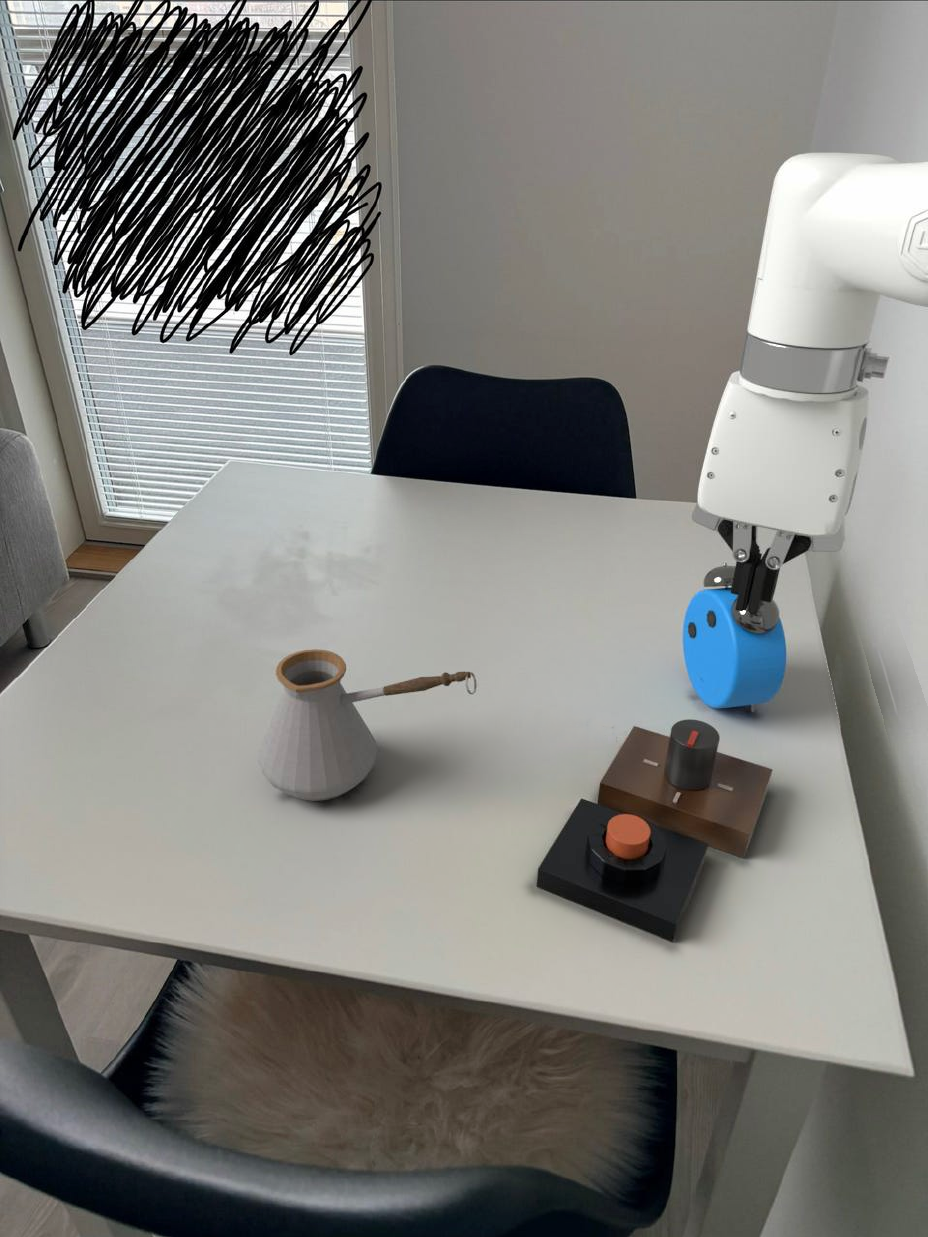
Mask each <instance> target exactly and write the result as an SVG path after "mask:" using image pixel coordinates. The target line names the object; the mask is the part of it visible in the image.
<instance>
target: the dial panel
mask: <svg viewBox="0 0 928 1237" xmlns="http://www.w3.org/2000/svg"><path fill="white" fill-rule="evenodd" d="M669 739H670V736H668V735H665V734H661V733H658V732H655V731H652V730H649V729H646V728H644V727H643V728H642V727H639V726H636V725H633V727H632V728H631V730H630V732H629V733H628V735H627V736H626V738H625V740H624V741H623V743H622V744H621V747H620V748H619V750H618V752H617V753H616V755H615V756H614V758H613V759H612V761H611V763H610V765H609V767H608V769H607V770H606V771H605V773H604V775H603V777H602V778H601V780H600V782H599V786H598V788H599V789H598V796H597V802H596V804H599V805H602V806H605V807H607V808H610V809H613V810H616V811H619V812H621V813H624V814H631V815H634V816H637V817H640V818H643V819H645V820H648V821H650V822H651V823H652V824H655V825H658V826H661V827H663V828H666V829H669V830H672V831H675V832H677V833H680V834H683V835H686V836H689V837H691V838H694V839H697V840H700V841H703V842H705V843H708V844H709V845H708V847H711V848H713V849H716V850H719V851H722V852H724V853H728V854H729V855H733V856H736V857H739V858H741V859H745V857H746V854H747V852H748V849H749V846H750V844H751V843H750V842H751V839H752V837H753V834H754V831H755V828H756V826H757V822H758V819H759V816H760V814H761V811H762V808H763V805H764V802H765V801H766V800H765V799H766V796H767V794H768V790H769V786H770V782H771V778H772V774H773V768H770V767H766V766H764V765H760V764H757V763H754V762H751V761H747V760H744V759H741V758H738V757H735V756H731V755H729V754H725V753H723V752H720V751H717V754H716V759H715V764H714V769H713V774H712V778H711V782H710V784H709V785H708V786H707V787H705V788H703V789H701V790H685V789H681V788H679V787H676V786H675V785H673V784H671V783H670V782H669V781H668V780H667V778H666V777H665V774H664V768H665V763H666V757H667V751H668V745H669Z"/></svg>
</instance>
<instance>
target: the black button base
mask: <svg viewBox="0 0 928 1237" xmlns="http://www.w3.org/2000/svg"><path fill="white" fill-rule="evenodd" d="M621 814H624V813H621V812H619V811H616V810H613V809H610V808H607V807H605V806H602V805H599V804H597V802H596V803H595V802H593V801H590V800H587V799H584V798H583V797H582V798H580V800H579V802H578V803H577V804H576V806H575V808H574V809H573V810H572V812H571V813H570V816H569V817H568V818H567V820H566V822H565V824H564V826H563V827H562V829H561V830H560V832H559V834H558V835H557V837H556V839H555V840H554V842H553V843H552V845H551V847H550V848H549V850H548V851H547V853H546V855H545V856H544V858H543V860H542V862H541V863H540V865H539V866H538V868H537V875H536V888H539V889H541V890H542V891H543V890H544V891H546V892H548V893H551V894H553V895H555V896H558V897H561V898H563V899H565V900H567V901H571V902H573V903H575V904H577V905H580V906H583V907H584V908H587V909H590V910H592V911H594V912H597V913H599V914H602V915H604V916H608V917H610V918H612V919H614V920H617V921H620V922H622V923H624V924H627V925H628V926H629V925H630V926H632V927H634V928H636V929H639V930H640V931H641V930H642V931H644V932H645V933H649V934H651V935H654V936H656V937H657V938H661V939H663V940H666V941H667V942H671V943H673V942H674V940H675V939H676V938H675V937H676V935H677V933H678V930H679V927H680V925H681V923H682V920H683V918H684V915H685V912H686V910H687V908H688V905H689V902H690V900H691V897H692V894H693V892H694V889H695V887H696V884H697V882H698V880H699V877H700V875H701V873H702V870H703V867H704V865H705V862H706V858H707V854H708V849H709V846H708V845H709V844H708V843H705V842H703V841H700V840H697V839H694V838H691V837H689V836H686V835H683V834H680V833H677V832H675V831H672V830H669V829H666V828H663V827H661V826H658V825H655V824H652V823H651V822H650V821H648V820H645V819H643V818H641V819H643V820H644V821H645V822H646V823H647V824H648V826H649V828H650V831H651V833H650V839H649V845H648V850H647V852H646V853H645V855H643V856H642V857H640V858H637V859H624V858H622V857H619V856H616V855H614V854H613V853H612V852H610V850H609V849H608V848H607V846H606V834H607V826H608V823H609V821H610V820H611V819H612V818H613V817H615V816H617V815H621ZM630 815H631V814H630ZM639 818H640V817H639Z"/></svg>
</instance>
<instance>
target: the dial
mask: <svg viewBox="0 0 928 1237" xmlns="http://www.w3.org/2000/svg"><path fill="white" fill-rule="evenodd" d="M669 737H670V739H669V745H668V751H667V757H666V763H665V768H664V774H665V777H666V778H667V780H668V781H669V782H670V783H671V784H673V785H675V786H676V787H679V788H681V789H685V790H701V789H703V788H705V787H707V786H708V785H709V784H710V782H711V778H712V774H713V769H714V764H715V759H716V754H717V752H718V749H719V745H720V738H721V737H720V733H719V731H718V730H717V728H715V727H714V726H713V725H711V724H710V723H708V722H705V721H703V720H702V721H701V720H699V719H692V718H691V719H688V718H687V719H682V720H679V721H676V722H675V723H674V724H673V725H672V726H671V729H670V735H669Z"/></svg>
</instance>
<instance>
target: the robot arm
mask: <svg viewBox="0 0 928 1237" xmlns="http://www.w3.org/2000/svg"><path fill="white" fill-rule="evenodd" d="M769 198H770V199H769V204H768V210H767V215H766V221H765V227H764V232H763V236H762V242H761V243H762V244H761V249H760V255H759V261H758V266H757V271H756V278H755V283H754V289H753V295H752V300H751V305H750V312H749V317H748V322H747V331H746V334H745V340H744V347H743V353H742V358H741V363H740V369H739V370H738V371H737V370H736V371H734V372H732V373H731V374H730V376H729V378H728V380H727V383H726V386H725V388H724V390H723V393H722V396H721V399H720V402H719V405H718V408H717V411H716V413H715V418H714V421H713V424H712V428H711V432H710V436H709V439H708V444H707V447H706V451H705V455H704V460H703V464H702V468H701V472H700V477H699V481H698V488H697V503H696V505H695V507H694V509H693V511H692V513H691V519H692V520H693V522H695V523H696V524H698V525H701V526H702V527H705V528H707V529H709V530H711V531H716V532H717V533H718V534H719V535H720V537H721V538H722V539H723V541H724V542H725V543H726V545H727V546H728V548H729V549H730V551H732V557H733V560H734V561H736V563H735V566H736V567H735V572H734V577H733V582H732V586H730V587H731V593H732V594H736V595H738V598H737V603H736V608H735V610H737V611H741V612H742V611H743V610H746V609H747V607H748V610H747V611H749V612H750V614H753V615H757V613H758V611H759V609H760V607H761V605H762V603H763V601H765V602H769V603H771V601H772V599H773V600H774V595H775V593H776V588H777V584H778V581H779V580H778V579H779V574H780V570H781V567H782V566H783V565H785V564H786V563H788V562H791V561H792V560H793V559H796V558H797V557H799V556H801V555H803V554H804V553H806V552H813V553H837V552H839V551H841V550H842V549H843V546H844V543H845V539H846V536H845V533H846V532H845V531H846V530H845V517H846V515H847V514H848V513H849V509H850V507H851V503H852V500H853V496H854V492H855V486H856V483H857V479H858V474H859V469H860V464H861V459H862V454H863V448H864V443H865V438H866V431H867V426H868V423H867V422H868V412H869V390H868V389H867V388H865V387H864V386H862V385H858V384H859V383H863V382H864V380H865V379H870V380H871V379H872V378H878V379H884V378H885V375H886V372H887V368H888V364H889V361H890V356H883V355H878V353H877V352H872V350H873V348H872V347H871V348H870V347H869V345H870V337H871V333H872V330H873V326H874V321H875V317H876V313H877V310H878V305H879V302H880V297H881V296H885V297H887V298H890V299H893V300H897V301H899V302H903V303H906V304H911V305H915V306H919V307H925V308H928V161H919V162H906V163H905V162H904V163H901V162H900V161H899V160H897V159H895V158H893V157H890V156H886V155H880V154H874V153H873V154H872V153H871V154H870V153H855V152H805V153H799V154H796V155H793V156H791V157H789V158H788V159H786V160H785V161H784V162H783V163H782V165H780V166H779V169H778V171H776V174H775V176H774V179H773V184H772V188H771V193H770V197H769ZM759 528H762V529H767V530H772V531H776V532H775V535H774V537H773V540H772V543H771V545H770V546H769V547H768V548H766V550H765V552H764V553H761V549H760V546H759V544H758V536H759V535H758V533H759V532H758V530H759Z"/></svg>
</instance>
